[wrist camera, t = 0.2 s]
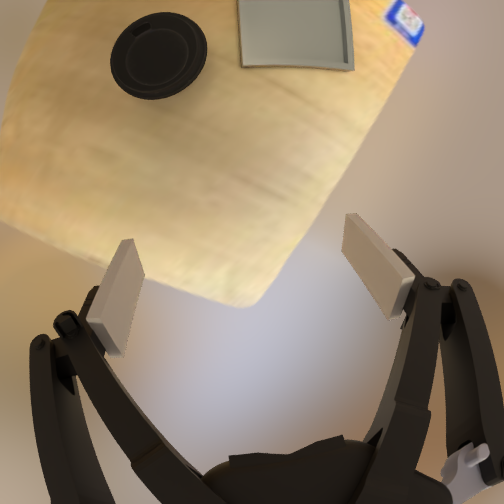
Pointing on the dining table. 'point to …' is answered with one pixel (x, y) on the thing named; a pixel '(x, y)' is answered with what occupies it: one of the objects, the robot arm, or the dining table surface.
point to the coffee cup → (158, 55)
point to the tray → (296, 34)
